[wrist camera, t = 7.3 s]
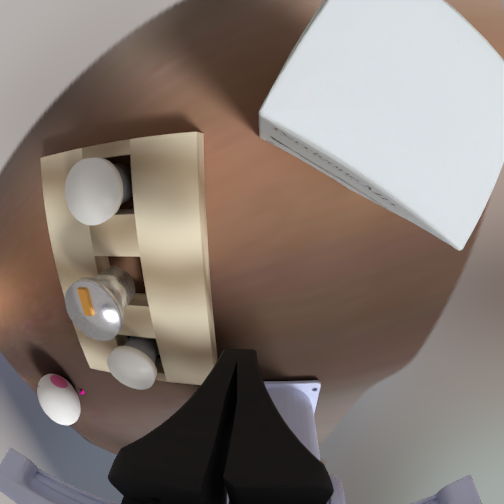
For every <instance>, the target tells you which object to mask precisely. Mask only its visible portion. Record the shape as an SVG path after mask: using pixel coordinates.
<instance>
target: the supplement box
mask: <svg viewBox="0 0 504 504" xmlns="http://www.w3.org/2000/svg"><path fill="white" fill-rule="evenodd" d="M259 137H260V138H261V139H263V140H265V141H267V142H269V143H271V144H273V145H275V146H277V147H279V148H280V149H282V150H284V151H286V152H288V153H290V154H291V155H293V156H295V157H297V158H299V159H300V160H302V161H304V162H306V163H307V164H309V165H311V166H312V167H314V168H316V169H318V170H319V171H321V172H323V173H324V174H326V175H328V176H329V177H331V178H333V179H334V180H336V181H338V182H339V183H341V184H342V185H344V186H345V187H347V188H348V189H350V190H352V191H354V192H356V193H358V194H360V195H362V196H364V197H365V198H367V199H369V200H371V201H373V202H375V203H377V204H379V205H381V206H382V207H384V208H386V209H388V210H390V211H392V212H394V213H396V214H397V215H399V216H401V217H403V218H405V219H407V220H409V221H411V222H412V223H414V224H416V225H418V226H419V227H421V228H423V229H425V230H426V231H428V232H430V233H431V234H433V235H435V236H436V237H438V238H440V239H441V240H443V241H444V242H446V243H448V244H449V245H451V246H452V247H454V248H456V249H457V250H459V251H460V250H462V249H463V247H464V245H465V244H466V242H467V240H468V238H469V237H470V235H471V233H472V231H473V229H474V227H475V226H476V224H477V222H478V220H479V218H480V216H481V214H482V212H483V210H484V208H485V206H486V203H487V201H488V199H489V197H490V194H491V192H492V190H493V188H494V185H495V183H496V181H497V178H498V176H499V173H500V170H501V168H502V165H503V162H504V60H503V59H502V58H501V56H500V55H499V54H498V53H497V52H496V50H495V49H494V48H493V47H492V46H491V45H490V44H489V43H488V41H487V40H486V39H485V38H484V37H483V36H482V35H481V34H480V33H479V32H478V31H477V30H476V29H475V28H474V27H473V26H472V25H471V24H470V23H469V22H468V21H467V20H466V19H465V18H464V17H463V16H462V15H461V14H460V13H459V12H458V11H456V10H455V9H454V8H453V7H452V6H451V5H449V4H448V3H447V2H445V1H444V0H323V2H322V3H321V5H320V6H319V8H318V9H317V11H316V12H315V14H314V16H313V17H312V19H311V20H310V22H309V24H308V25H307V27H306V28H305V30H304V32H303V33H302V35H301V37H300V38H299V40H298V41H297V43H296V45H295V46H294V48H293V50H292V52H291V53H290V55H289V57H288V59H287V60H286V62H285V64H284V66H283V68H282V69H281V71H280V73H279V75H278V77H277V79H276V80H275V82H274V84H273V86H272V88H271V90H270V92H269V93H268V95H267V97H266V99H265V101H264V103H263V104H262V106H261V108H260V110H259Z"/></svg>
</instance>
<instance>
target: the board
mask: <svg viewBox="0 0 504 504" xmlns="http://www.w3.org/2000/svg"><path fill="white" fill-rule="evenodd" d="M125 155H130V158H131V176H132V190H133V202H134V209H119V210H118V211H117V212H116V214H115V215H114V216H113V217H112V218H110V219H109V220H107V221H105V222H103V223H101V224H98V225H86V224H83V223H81V222H80V221H78V220H77V219H76V218H75V217H74V216H73V215H72V213H71V212H70V210H69V208H68V206H67V203H66V199H65V182H66V178H67V175H68V173H69V171H70V170H71V168H72V167H73V166H74V165H75V164H76V163H77V162H79V161H80V160H83V159H86V158H94V157H100V158H104V159H105V158H111V157H118V156H125ZM40 159H41V174H42V186H43V195H44V203H45V211H46V217H47V224H48V230H49V235H50V240H51V245H52V250H53V255H54V259H55V264H56V268H57V272H58V276H59V280H60V283H61V287H62V290H63V294H64V297H65V295H66V292H67V290H68V288H69V287H70V286H71V285H72V284H74V283H75V282H76V281H77V280H79V279H80V278H83V277H93V278H95V277H96V276H97V275H98V274H99V273H101V272H102V271H103V270H104V269H105V268H107V267H109V266H110V263H109V258H108V256H137V257H140V259H141V266H142V272H143V278H144V284H145V289H146V294H144V293H135V295H134V297H133V299H132V300H131V301H130V303H129V304H128V305H127V306H126V308H125V309H124V313H125V321H124V324H123V326H122V328H121V329H120V331H119V332H118V334H117V335H116V336H115V337H114V338H113V339H111V340H108V341H99V340H95V339H92V338H90V337H88V336H87V335H85V334H84V333H83V332H81V331H80V330H79V329H78V328H77V327H76V326H75V324H74V323H73V325H74V328H75V331H76V334H77V336H78V339H79V342H80V344H81V347H82V349H83V352H84V354H85V357H86V359H87V361H88V364H89V366H90V368H92V369H97V370H102V371H106V372H110V370H109V368H108V365H107V359H108V357H109V355H110V354H111V352H112V351H113V349H114V348H116V347H118V346H124V345H125V344H126V342H127V340H128V338H127V335H128V336H136V337H145V338H155V339H156V341H157V345H158V350H159V354H160V357H161V359H160V358H157V359H156V361H155V363H154V364H155V366H156V369H157V376H156V378H155V380H159V381H167V382H176V383H185V384H195V385H201V384H202V383H203V382H204V380H205V379H206V377H207V376H208V375H209V373H210V372H211V370H212V369H213V367H214V365H215V364H216V362H217V360H218V358H217V349H216V339H215V329H214V318H213V307H212V295H211V283H210V269H209V255H208V239H207V222H206V201H205V176H204V137H203V133H200V132H186V133H175V134H165V135H157V136H149V137H141V138H134V139H127V140H121V141H115V142H109V143H104V144H98V145H93V146H88V147H84V148H79V149H75V150H70V151H66V152H62V153H58V154H54V155H50V156H46V157H42V158H40Z"/></svg>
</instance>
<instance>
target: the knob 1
mask: <svg viewBox="0 0 504 504" xmlns="http://www.w3.org/2000/svg"><path fill="white" fill-rule="evenodd" d="M132 196H133V190H132V176H131V168H130V167H128V166H127V165H125V164H122V163H116V164H112V163H111V162H110V161H108V160H106V159H104V158H100V157H94V158H86V159H83V160H80V161H79V162H77V163H76V164H75V165H74V166H73V167H72V168H71V170H70V171H69V173H68V175H67V178H66V182H65V199H66V203H67V206H68V208H69V210H70V212H71V213H72V215H73V216H74V217H75V218H76V219H77V220H78V221H80V222H81V223H83V224H86V225H98V224H101V223H103V222H105V221H107V220H109V219H110V218H112V217H113V216H114V215H115V214H116V212H117V211H118V209H119V208H120V205H121V204H122V203H125V202H127V201H128V200H129V199H130V198H131V197H132Z"/></svg>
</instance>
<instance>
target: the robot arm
mask: <svg viewBox="0 0 504 504" xmlns="http://www.w3.org/2000/svg"><path fill="white" fill-rule="evenodd" d="M320 386H321V384H320V381H318V380H309V381H263V379H262V376H261V373H260V370H259V367H258V362H257V357H256V351H255V350H244V349H224V350H223V351H222V353H221V355H220V357H219V359H218V360H217V362H216V364H215V365H214V367H213V369H212V370H211V372H210V373H209V375H208V376H207V377H206V379H205V380H204V382H203V383H202V384H201V386H200V387H199V388H198V389H197V390H196V392H195V393H194V394H193V395H192V397H191V398H190V399H189V400H188V401H187V402H186V403H185V404H184V405H183V406H182V407H181V408H180V409H179V410H178V411H177V412H176V413H175V414H173V415H172V416H171V417H170V418H169V419H168V420H166V421H165V422H164V423H163V424H161V425H160V426H158V427H157V428H156V429H154V430H153V431H151V432H150V433H148V434H147V435H145V436H144V437H142V438H140V439H138V440H137V441H135V442H133V443H131V444H129V445H127V446H125V447H123V448H121V450H120V451H119V453H118V455H117V456H116V458H115V460H114V462H113V465H112V467H111V470H110V472H109V475H108V479H109V481H110V482H111V484H112V485H113V486H114V487H115V488H116V489H117V490H119V492H120V493H121V494H123V495H124V497H123V500H122V503H121V504H345V496H344V491H343V486H342V483H341V480H340V479H339V478H338V477H336V476H334V474H328V472H327V470H326V468H325V466H324V464H323V463H322V462H321V461H320V455H319V448H318V441H317V434H316V427H315V420H314V412H315V408H316V404H317V399H318V395H319V391H320ZM0 491H1V492H3V493H4V494H5V495H6V496H8V497H9V498H10V499H12V500H13V501H14V502H16V503H17V504H117V503H114V502H111V501H108V500H105V499H103V498H100V497H98V496H95V495H92V494H90V493H87V492H85V491H83V490H80V489H78V488H76V487H73V486H72V485H69V484H67V483H65V482H63V481H61V480H59V479H57V478H55V477H53V476H51V475H49V474H47V473H45V472H44V471H42V470H40V469H38V468H37V466H36V465H35V464H34V463H33V462H32V461H30V460H29V459H28V458H27V457H25V456H24V455H22V454H20V453H19V452H17V451H16V450H14V449H12V448H10V449H9V451H8V452H7V454H6V456H5V457H4V459H3V461H2V463H1V464H0ZM411 504H482V503H481V500H480V498H479V495H478V492H477V489H476V487H475V484H474V482H473V479H472V477H471V475H468V476H466V477H464V478H462V479H460V480H457V481H455V482H453V483H451V484H449V485H447V486H445V487H444V488H442V489H441V490H440V491H439V492H438V493H437V494H435V495H433V496H431V497H428V498H425V499H422V500H420V501H417V502H414V503H411Z"/></svg>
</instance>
